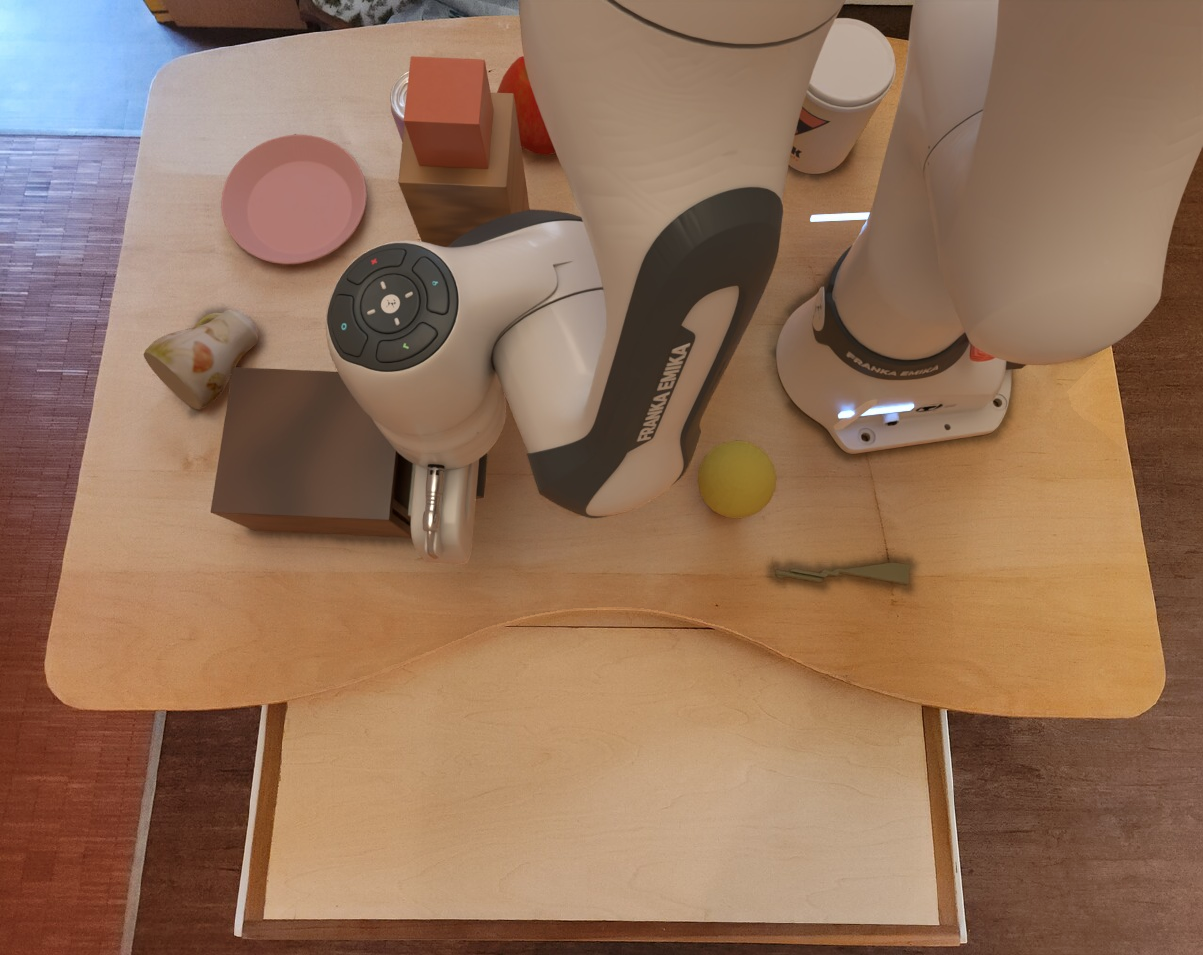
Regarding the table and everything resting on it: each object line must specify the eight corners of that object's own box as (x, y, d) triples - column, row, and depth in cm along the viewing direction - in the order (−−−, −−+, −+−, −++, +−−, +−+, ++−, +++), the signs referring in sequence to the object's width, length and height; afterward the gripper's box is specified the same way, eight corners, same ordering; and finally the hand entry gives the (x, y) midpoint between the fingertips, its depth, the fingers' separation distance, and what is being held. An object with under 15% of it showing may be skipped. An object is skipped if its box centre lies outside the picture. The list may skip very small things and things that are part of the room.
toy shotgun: (906, 563, 76) (910, 562, 75) (908, 585, 76) (912, 584, 75) (773, 560, 76) (775, 559, 75) (774, 582, 75) (776, 581, 75)
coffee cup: (755, 114, 86) (781, 27, 75) (840, 94, 87) (878, 4, 75) (783, 190, 84) (814, 113, 73) (869, 170, 85) (913, 90, 73)
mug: (289, 339, 80) (232, 353, 71) (234, 409, 83) (172, 431, 74) (230, 285, 80) (165, 292, 70) (177, 357, 82) (107, 373, 73)
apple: (491, 159, 85) (477, 87, 74) (516, 93, 87) (506, 14, 76) (567, 180, 84) (563, 111, 74) (591, 113, 86) (590, 36, 76)
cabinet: (425, 407, 79) (404, 374, 70) (413, 538, 76) (389, 520, 67) (273, 400, 79) (232, 366, 70) (254, 530, 76) (210, 512, 67)
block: (493, 108, 54) (484, 59, 50) (488, 169, 53) (479, 124, 49) (425, 105, 54) (410, 55, 50) (418, 166, 53) (403, 120, 49)
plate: (400, 206, 84) (396, 195, 82) (294, 300, 81) (287, 291, 79) (306, 121, 86) (299, 108, 84) (200, 210, 83) (190, 199, 81)
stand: (540, 285, 82) (513, 92, 54) (535, 351, 80) (506, 187, 53) (469, 282, 82) (408, 88, 54) (464, 348, 80) (397, 182, 53)
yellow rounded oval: (745, 451, 78) (767, 420, 68) (770, 518, 77) (796, 496, 67) (679, 472, 77) (691, 444, 68) (702, 540, 76) (718, 520, 66)
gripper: (474, 554, 55) (494, 578, 68) (497, 273, 60) (511, 347, 73) (378, 549, 55) (417, 574, 68) (409, 268, 59) (440, 343, 73)
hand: (466, 455), depth 71 cm, fingers closed, pressing on drawer
